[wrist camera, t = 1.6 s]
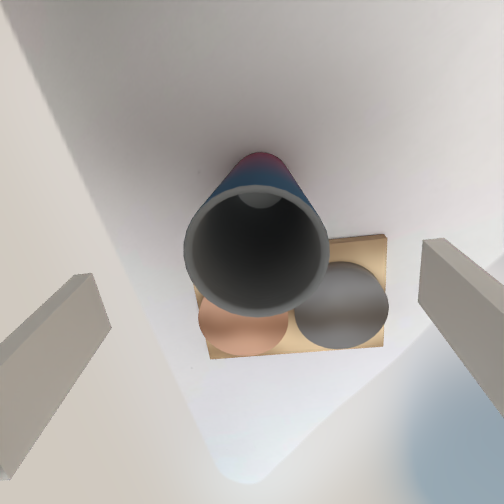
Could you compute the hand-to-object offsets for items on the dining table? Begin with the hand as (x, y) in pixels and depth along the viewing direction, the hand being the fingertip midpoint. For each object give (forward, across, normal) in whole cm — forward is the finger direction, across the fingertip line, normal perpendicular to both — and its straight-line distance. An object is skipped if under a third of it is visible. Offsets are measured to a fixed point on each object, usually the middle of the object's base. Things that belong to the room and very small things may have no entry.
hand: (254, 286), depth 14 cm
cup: (+18, 0, 0) cm, 18 cm away
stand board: (+18, +2, -12) cm, 21 cm away
